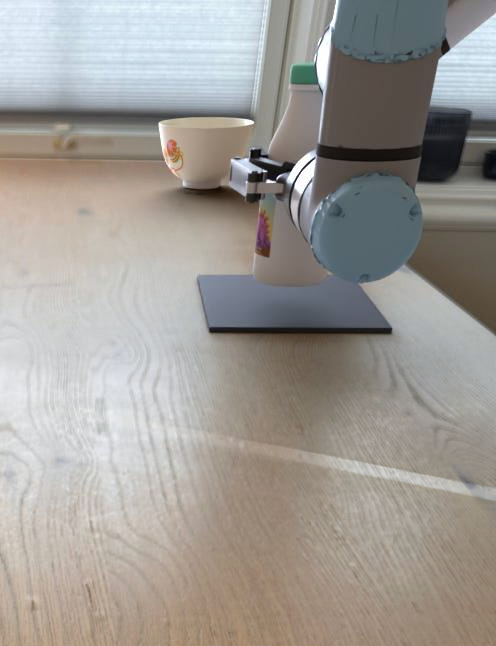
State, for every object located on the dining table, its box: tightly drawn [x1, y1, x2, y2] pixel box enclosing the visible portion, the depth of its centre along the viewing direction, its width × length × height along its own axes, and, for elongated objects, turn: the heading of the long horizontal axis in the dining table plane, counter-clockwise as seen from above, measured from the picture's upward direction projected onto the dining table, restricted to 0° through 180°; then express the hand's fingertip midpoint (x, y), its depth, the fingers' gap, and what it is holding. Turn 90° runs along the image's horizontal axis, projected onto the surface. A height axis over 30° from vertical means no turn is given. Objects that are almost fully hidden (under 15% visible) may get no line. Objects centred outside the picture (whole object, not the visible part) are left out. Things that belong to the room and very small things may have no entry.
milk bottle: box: [252, 61, 329, 287], centre depth 99 cm, size 8×8×20 cm
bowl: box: [158, 116, 255, 190], centre depth 169 cm, size 16×16×10 cm
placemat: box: [196, 274, 393, 334], centre depth 107 cm, size 22×18×1 cm
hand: (295, 159), depth 102 cm, fingers closed on milk bottle, 8 cm apart
